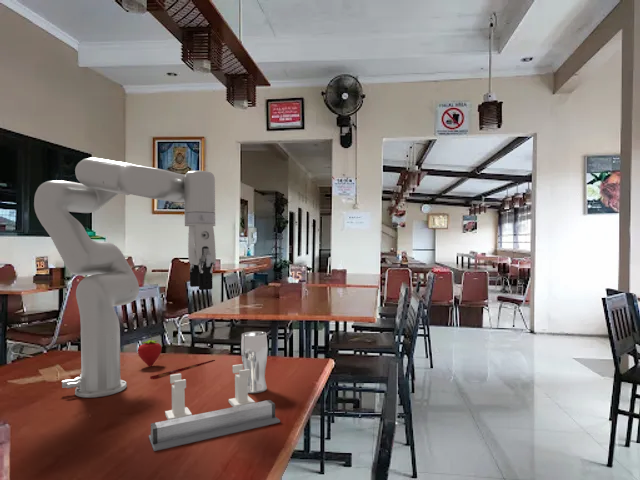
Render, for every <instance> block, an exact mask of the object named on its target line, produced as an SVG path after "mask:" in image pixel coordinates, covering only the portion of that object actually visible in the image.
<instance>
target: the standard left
mask: <svg viewBox="0 0 640 480" xmlns="http://www.w3.org/2000/svg"><path fill="white" fill-rule="evenodd" d="M169 383H170V384H171V409H169V410H164V414H165V418H166V420H171V419H176V418H181V417H186V416H191V415H193V414H192V412H191V410H190V409H189V408H188V407H187V406H186V405H185V404H186V403H185V402H186V401H185V399H186V398H185V397H186V395H185V393H186V392H185V389H187V379H185V378H184V379H182V373H180V372H179V373H173V374H170V375H169Z"/></svg>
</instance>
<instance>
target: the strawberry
mask: <svg viewBox="0 0 640 480" xmlns="http://www.w3.org/2000/svg"><path fill="white" fill-rule="evenodd" d="M149 337H150V338H151V340H150V339H148V340H146V341H142V342H141V343H142V344H141V345H140V346H138V348H137V354H138V357H139V358H140V359H141V360H142V362H144V363H145V364H146V366H148V367H152V366H154V363H155V362H156V361H157V359H158V358H159V357H160V355H161V353H162V349H163V348H162V344H160V343H159V342H158V340H153V337H152V336H151V335H149Z"/></svg>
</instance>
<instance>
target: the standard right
mask: <svg viewBox="0 0 640 480" xmlns="http://www.w3.org/2000/svg"><path fill="white" fill-rule="evenodd" d="M231 366H232V367H231V368H232V374H234V397H233V398H228V403H229V404H230V406H231V407H236V406H241V405H246V404H251V403H256V401H255V400H254V399H252V398H251V397H250V396H249V393H248V377H250V369H245V370H244V367H243V363H240V364H233V365H231Z"/></svg>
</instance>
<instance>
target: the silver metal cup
mask: <svg viewBox="0 0 640 480" xmlns="http://www.w3.org/2000/svg"><path fill="white" fill-rule="evenodd" d="M240 346H241V347H240V349H241V350H240V351H241V361H242V365H243V370H245V369H250V377H248V394H261V393H264V392H265V391H267V388H268V387H267V383H266V376H265V375H266V367H267V360H268V338H267V332H266V331H258V330H257V331H246V332H244V333H241V343H240Z"/></svg>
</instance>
